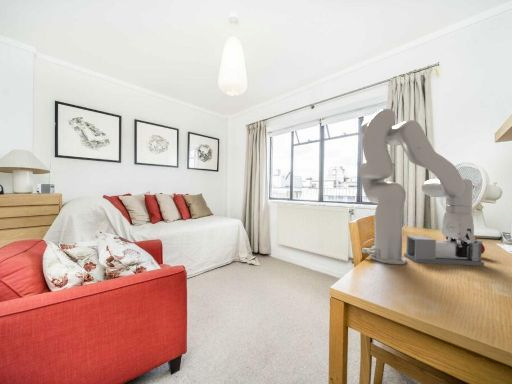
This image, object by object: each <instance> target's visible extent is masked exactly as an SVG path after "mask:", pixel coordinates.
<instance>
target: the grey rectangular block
mask: <svg viewBox="0 0 512 384" xmlns="http://www.w3.org/2000/svg"><path fill="white" fill-rule="evenodd" d="M462 243H463V242H462ZM457 247H459V245H458V241H457V242H455V241H447V240H436V255H435V258H452V259H470V245H469V248H467V258H461V257H457Z"/></svg>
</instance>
